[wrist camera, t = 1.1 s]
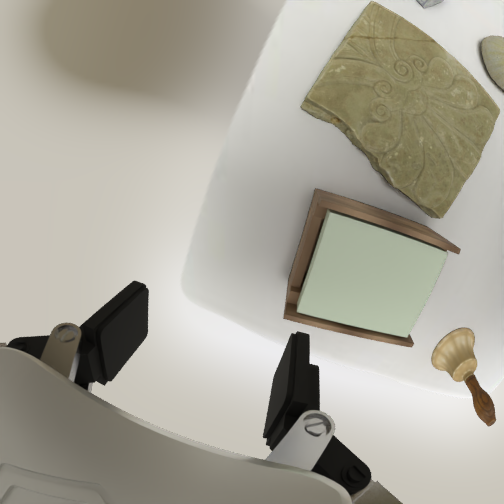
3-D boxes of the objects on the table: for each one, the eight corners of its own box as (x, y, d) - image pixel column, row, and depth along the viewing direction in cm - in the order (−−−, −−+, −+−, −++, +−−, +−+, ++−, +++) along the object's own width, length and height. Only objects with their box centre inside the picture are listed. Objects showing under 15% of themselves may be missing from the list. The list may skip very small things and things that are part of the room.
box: (426, 226, 26) (460, 249, 19) (392, 307, 30) (411, 347, 23) (315, 188, 28) (321, 199, 20) (288, 280, 32) (283, 318, 24)
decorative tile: (367, 7, 19) (373, -7, 16) (490, 112, 20) (505, 110, 17) (288, 116, 26) (287, 110, 23) (428, 222, 27) (441, 230, 23)
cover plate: (440, 246, 21) (448, 253, 20) (402, 327, 25) (406, 337, 23) (327, 208, 22) (330, 212, 21) (297, 302, 26) (296, 311, 24)
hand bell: (421, 360, 32) (453, 443, 18) (457, 319, 29) (507, 395, 15) (448, 374, 33) (478, 445, 18) (481, 337, 29) (524, 404, 15)
